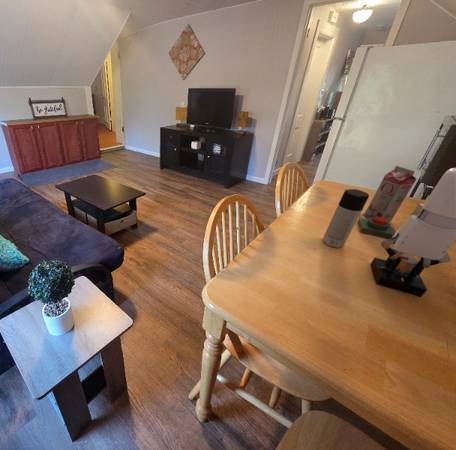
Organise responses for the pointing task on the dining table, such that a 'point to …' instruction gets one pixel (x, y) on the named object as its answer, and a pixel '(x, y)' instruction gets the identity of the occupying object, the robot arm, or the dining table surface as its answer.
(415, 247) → the robot arm
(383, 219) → the button
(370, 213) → the juice carton
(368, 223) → the button box
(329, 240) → the spray can
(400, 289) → the hob panel
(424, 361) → the dining table surface
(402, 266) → the hob knob
